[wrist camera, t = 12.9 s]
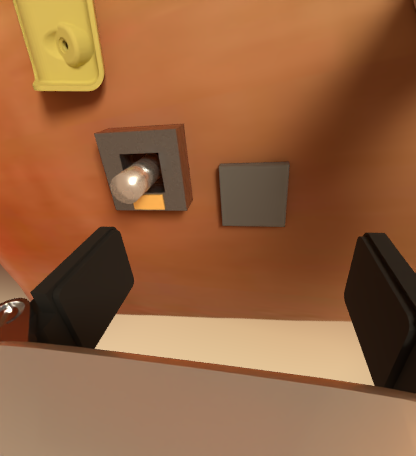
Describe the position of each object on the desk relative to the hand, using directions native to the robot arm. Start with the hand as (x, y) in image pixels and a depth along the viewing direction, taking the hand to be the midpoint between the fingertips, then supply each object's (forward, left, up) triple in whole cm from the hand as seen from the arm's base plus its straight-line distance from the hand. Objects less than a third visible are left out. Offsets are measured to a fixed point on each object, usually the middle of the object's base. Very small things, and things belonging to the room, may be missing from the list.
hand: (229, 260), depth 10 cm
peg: (+16, +5, -30) cm, 35 cm away
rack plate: (+16, +5, -30) cm, 35 cm away
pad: (0, +10, -30) cm, 32 cm away
